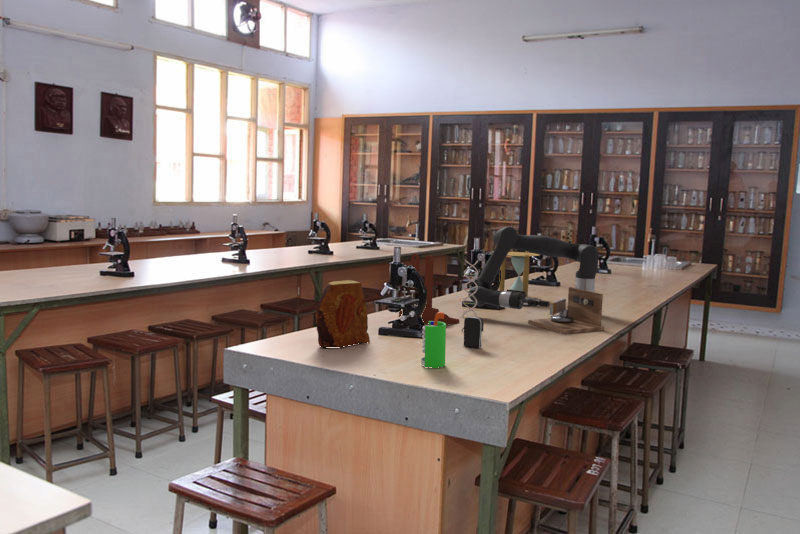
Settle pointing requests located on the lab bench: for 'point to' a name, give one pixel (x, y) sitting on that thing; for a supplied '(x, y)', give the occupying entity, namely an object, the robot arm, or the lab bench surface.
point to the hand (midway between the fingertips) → (548, 304)
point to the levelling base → (578, 313)
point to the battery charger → (473, 331)
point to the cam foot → (560, 312)
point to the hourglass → (518, 271)
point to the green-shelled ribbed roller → (434, 343)
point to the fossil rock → (342, 315)
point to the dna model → (471, 289)
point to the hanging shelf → (429, 292)
